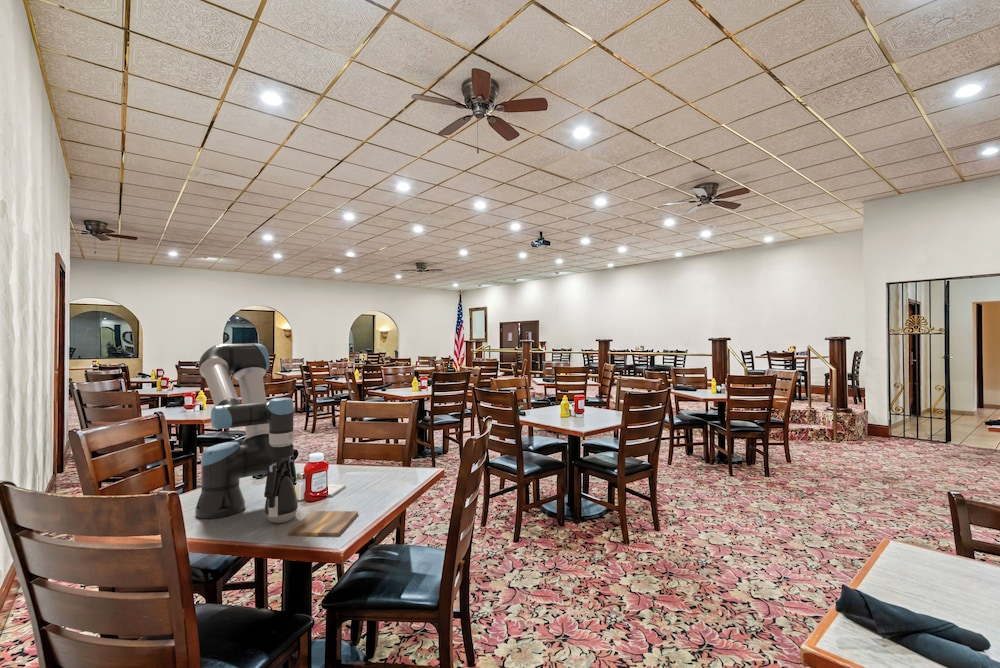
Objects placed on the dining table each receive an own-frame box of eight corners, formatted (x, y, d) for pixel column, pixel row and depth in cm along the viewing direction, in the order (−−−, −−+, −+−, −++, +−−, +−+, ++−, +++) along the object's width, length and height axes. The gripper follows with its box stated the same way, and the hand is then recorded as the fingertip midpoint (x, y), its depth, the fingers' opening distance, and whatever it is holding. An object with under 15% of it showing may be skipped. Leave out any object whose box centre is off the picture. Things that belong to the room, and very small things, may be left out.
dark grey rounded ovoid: (258, 526, 154) (258, 479, 154) (272, 514, 164) (272, 470, 164) (290, 526, 154) (290, 479, 154) (302, 514, 164) (302, 470, 165)
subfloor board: (287, 535, 147) (287, 532, 147) (312, 513, 165) (312, 510, 165) (338, 536, 146) (338, 532, 146) (357, 514, 164) (357, 511, 164)
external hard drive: (311, 497, 183) (326, 487, 195) (331, 498, 182) (345, 488, 194) (311, 493, 183) (326, 483, 195) (331, 494, 182) (345, 484, 194)
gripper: (275, 452, 148) (275, 523, 148) (307, 437, 171) (307, 499, 170) (251, 452, 148) (251, 523, 148) (286, 437, 171) (286, 498, 171)
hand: (281, 510), depth 159 cm, fingers closed on dark grey rounded ovoid, 10 cm apart
